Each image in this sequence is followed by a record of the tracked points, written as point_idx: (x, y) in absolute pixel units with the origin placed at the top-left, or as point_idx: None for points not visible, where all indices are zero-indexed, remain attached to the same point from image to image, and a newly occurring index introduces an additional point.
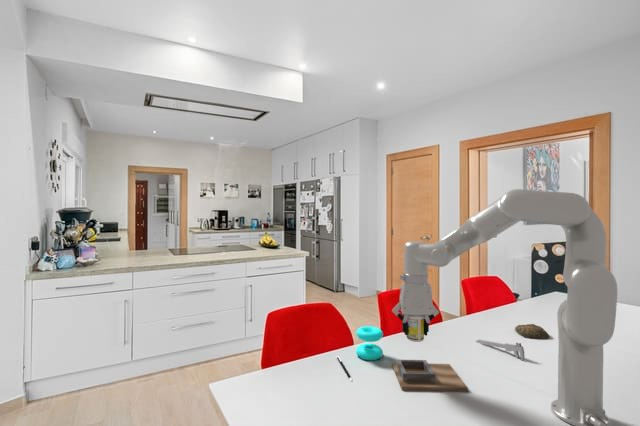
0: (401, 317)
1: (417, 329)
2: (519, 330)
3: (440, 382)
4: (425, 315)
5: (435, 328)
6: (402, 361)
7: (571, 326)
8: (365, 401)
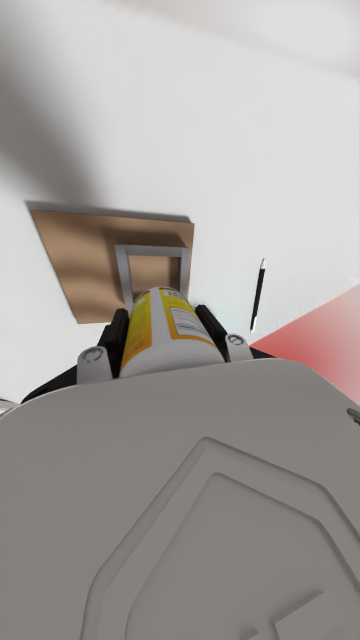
0: (257, 357)
1: (166, 306)
2: None
3: (104, 241)
4: (102, 380)
5: None
6: None
7: None
8: (274, 176)
